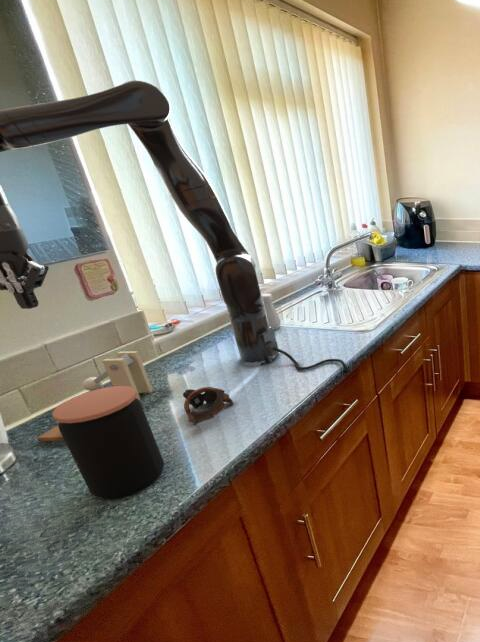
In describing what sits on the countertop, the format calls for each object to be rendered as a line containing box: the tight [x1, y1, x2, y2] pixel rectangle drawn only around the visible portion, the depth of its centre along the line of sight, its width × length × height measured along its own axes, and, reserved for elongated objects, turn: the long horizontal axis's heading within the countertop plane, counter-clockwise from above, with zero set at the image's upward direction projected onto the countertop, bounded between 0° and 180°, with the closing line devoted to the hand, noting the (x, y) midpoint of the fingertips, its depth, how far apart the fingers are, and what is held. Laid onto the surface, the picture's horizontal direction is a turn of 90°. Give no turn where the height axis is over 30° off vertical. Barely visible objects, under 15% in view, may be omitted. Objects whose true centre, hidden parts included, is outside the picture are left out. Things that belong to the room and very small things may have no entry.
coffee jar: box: [51, 386, 165, 500], centre depth 74 cm, size 11×11×18 cm
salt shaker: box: [261, 293, 282, 331], centre depth 145 cm, size 6×6×13 cm
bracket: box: [101, 350, 154, 401], centre depth 101 cm, size 10×8×13 cm
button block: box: [36, 422, 65, 442], centre depth 90 cm, size 11×9×4 cm
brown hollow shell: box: [182, 386, 234, 426], centre depth 97 cm, size 12×10×8 cm
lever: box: [82, 354, 134, 392], centre depth 100 cm, size 14×3×3 cm
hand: (30, 307), depth 89 cm, fingers closed
